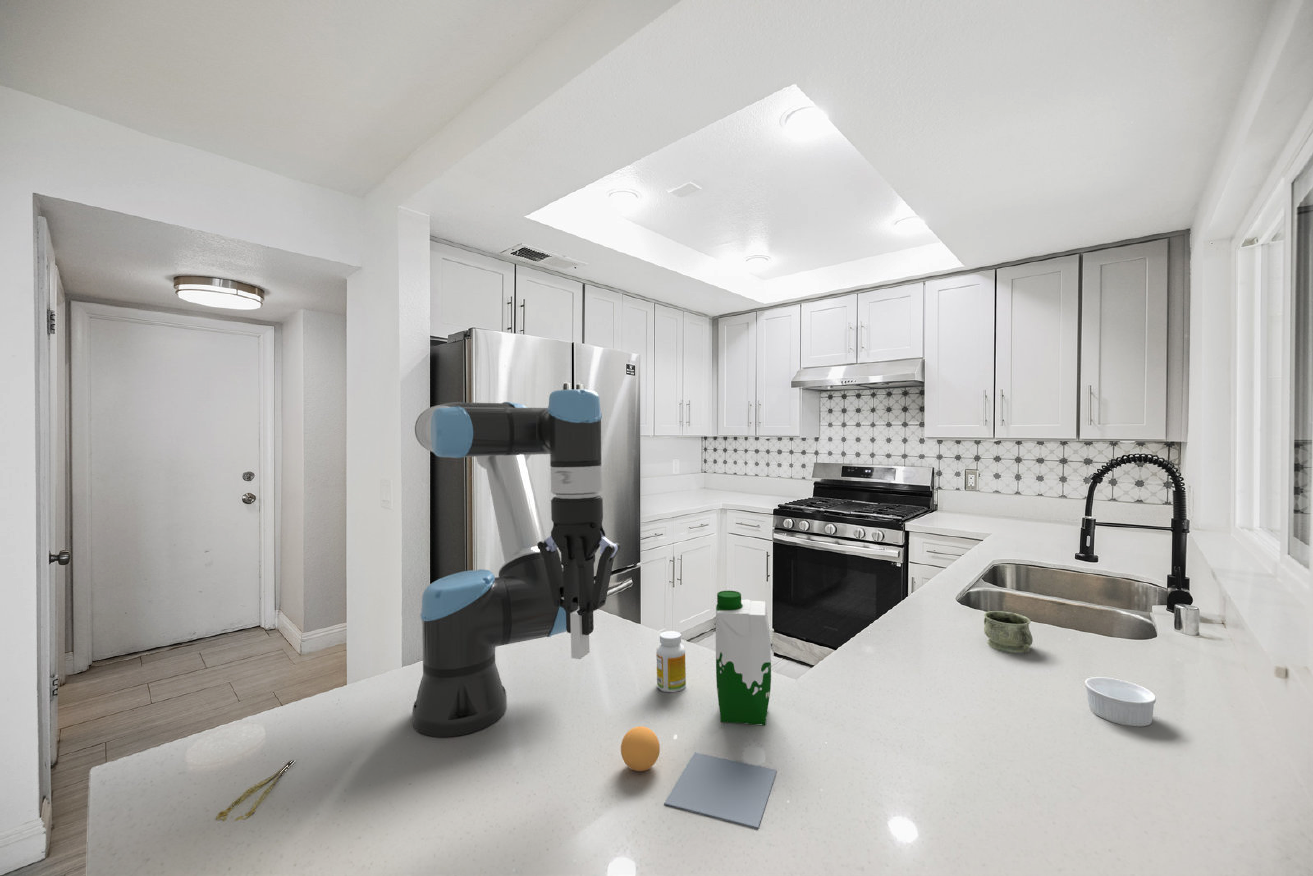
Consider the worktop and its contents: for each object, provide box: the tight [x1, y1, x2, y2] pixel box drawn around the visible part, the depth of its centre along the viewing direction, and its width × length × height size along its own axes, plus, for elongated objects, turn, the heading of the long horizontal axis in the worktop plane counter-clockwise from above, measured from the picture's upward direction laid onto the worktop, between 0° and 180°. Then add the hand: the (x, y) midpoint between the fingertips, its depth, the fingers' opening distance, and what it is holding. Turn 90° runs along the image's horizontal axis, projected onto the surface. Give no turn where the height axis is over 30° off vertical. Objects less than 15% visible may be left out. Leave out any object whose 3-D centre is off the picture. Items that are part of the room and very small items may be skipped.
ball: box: [620, 726, 661, 772], centre depth 78 cm, size 6×6×6 cm
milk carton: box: [715, 590, 772, 726], centre depth 92 cm, size 9×9×20 cm
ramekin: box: [1084, 676, 1157, 728], centre depth 90 cm, size 9×9×4 cm
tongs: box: [216, 759, 294, 822], centre depth 75 cm, size 4×13×2 cm, turn 5°
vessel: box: [983, 610, 1033, 654], centre depth 119 cm, size 12×9×6 cm
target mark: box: [664, 751, 778, 830], centre depth 73 cm, size 12×12×1 cm
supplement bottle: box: [655, 630, 687, 693], centre depth 103 cm, size 5×5×10 cm
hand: (580, 655), depth 81 cm, fingers closed
